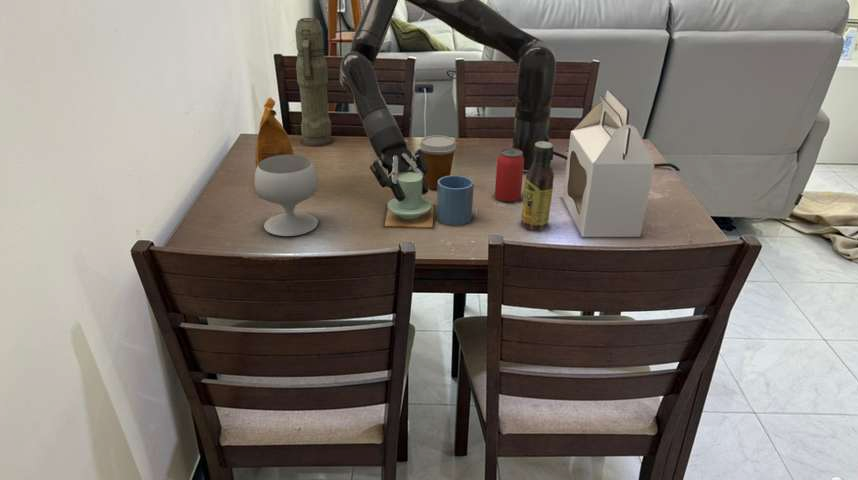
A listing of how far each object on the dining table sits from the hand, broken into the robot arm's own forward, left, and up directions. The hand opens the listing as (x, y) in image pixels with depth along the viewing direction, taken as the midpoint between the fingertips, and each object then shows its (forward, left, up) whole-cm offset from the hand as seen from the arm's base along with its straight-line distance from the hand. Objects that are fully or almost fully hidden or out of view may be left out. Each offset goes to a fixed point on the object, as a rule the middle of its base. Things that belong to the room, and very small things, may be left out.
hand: (413, 196), depth 155 cm
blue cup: (-10, -1, -6) cm, 11 cm away
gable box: (-44, -4, -6) cm, 45 cm away
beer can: (-23, -14, -6) cm, 27 cm away
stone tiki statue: (+32, -53, -6) cm, 62 cm away
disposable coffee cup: (-5, -21, -6) cm, 22 cm away
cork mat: (+1, -1, -6) cm, 6 cm away
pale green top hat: (+1, -1, -5) cm, 6 cm away
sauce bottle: (-28, +2, -6) cm, 29 cm away
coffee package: (+36, -17, -6) cm, 40 cm away
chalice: (+28, +5, -6) cm, 29 cm away
